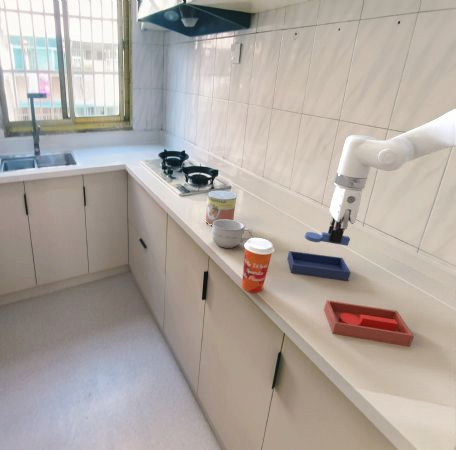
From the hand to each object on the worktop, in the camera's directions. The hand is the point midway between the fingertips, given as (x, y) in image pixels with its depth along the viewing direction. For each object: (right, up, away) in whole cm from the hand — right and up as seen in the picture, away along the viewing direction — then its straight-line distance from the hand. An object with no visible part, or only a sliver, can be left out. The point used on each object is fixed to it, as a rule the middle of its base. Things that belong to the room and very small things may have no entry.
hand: (333, 239), depth 101 cm
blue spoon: (-2, 0, +1) cm, 2 cm away
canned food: (-27, +5, +37) cm, 47 cm away
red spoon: (-3, -20, -20) cm, 28 cm away
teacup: (-27, -3, +18) cm, 33 cm away
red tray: (-3, -20, -20) cm, 28 cm away
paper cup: (-26, -13, -5) cm, 30 cm away
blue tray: (-3, -9, +5) cm, 11 cm away
